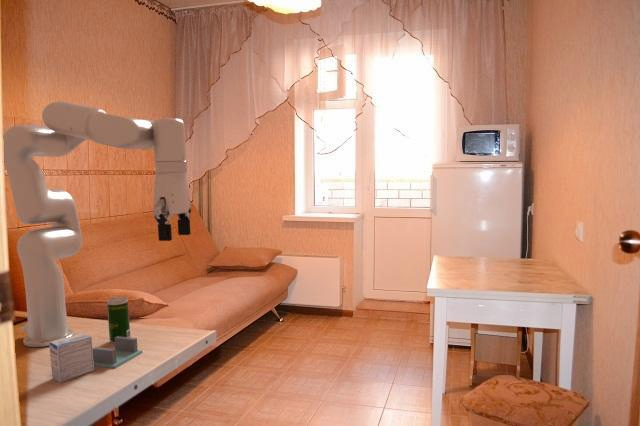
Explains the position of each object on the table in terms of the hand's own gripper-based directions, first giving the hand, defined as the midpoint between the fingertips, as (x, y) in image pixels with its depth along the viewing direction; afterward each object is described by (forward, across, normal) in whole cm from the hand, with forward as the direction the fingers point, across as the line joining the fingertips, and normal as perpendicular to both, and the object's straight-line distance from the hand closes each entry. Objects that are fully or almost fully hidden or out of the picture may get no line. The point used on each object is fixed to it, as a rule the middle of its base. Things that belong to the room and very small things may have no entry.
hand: (175, 237), depth 122 cm
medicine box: (+30, +16, -19) cm, 39 cm away
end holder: (+30, +6, -15) cm, 34 cm away
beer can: (+30, -6, -22) cm, 38 cm away
